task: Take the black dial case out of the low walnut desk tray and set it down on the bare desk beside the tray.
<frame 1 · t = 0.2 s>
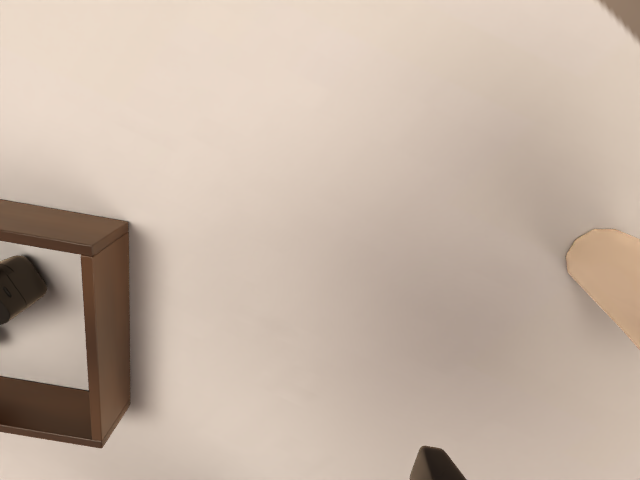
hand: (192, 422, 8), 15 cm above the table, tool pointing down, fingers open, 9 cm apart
milkshake: (586, 258, 22), on the table
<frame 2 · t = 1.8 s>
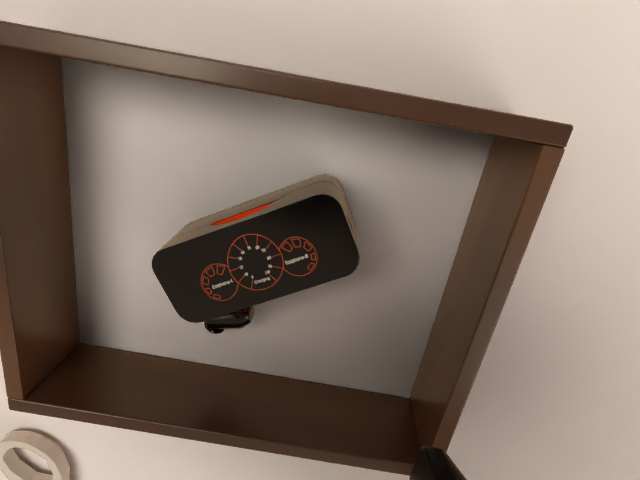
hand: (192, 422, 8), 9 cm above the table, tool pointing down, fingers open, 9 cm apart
black dial case: (261, 248, 16), resting in desk tray
desk tray: (261, 250, 16), on the table
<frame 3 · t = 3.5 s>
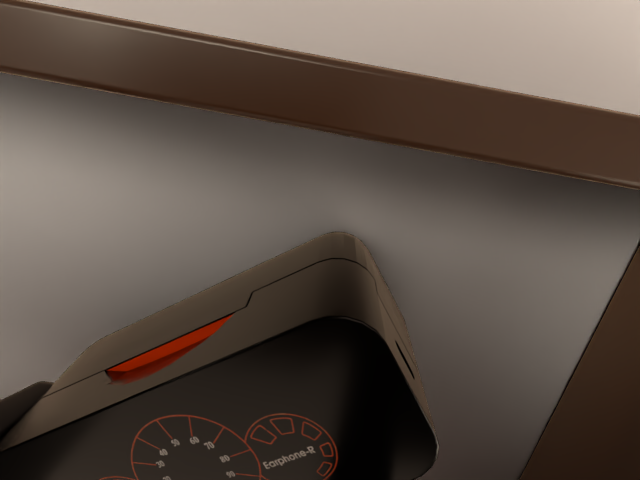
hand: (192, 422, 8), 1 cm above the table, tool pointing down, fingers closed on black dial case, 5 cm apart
black dial case: (236, 364, 9), resting in desk tray, touching gripper
desk tray: (214, 374, 9), on the table
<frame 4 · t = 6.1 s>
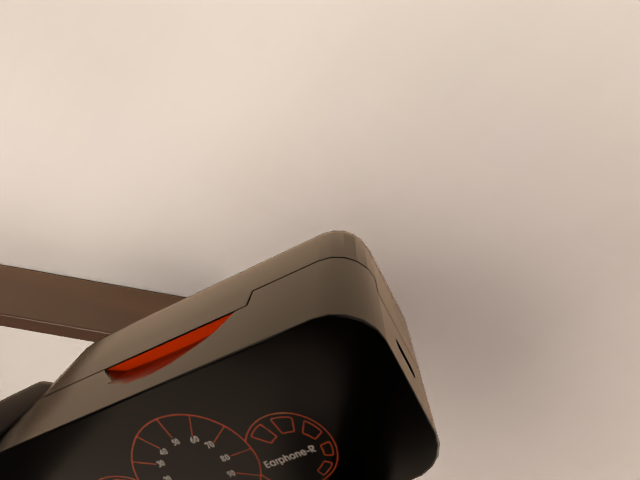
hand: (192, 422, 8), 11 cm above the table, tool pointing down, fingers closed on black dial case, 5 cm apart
black dial case: (236, 363, 9), point 9 cm above the table, touching gripper
desk tray: (91, 386, 22), on the table
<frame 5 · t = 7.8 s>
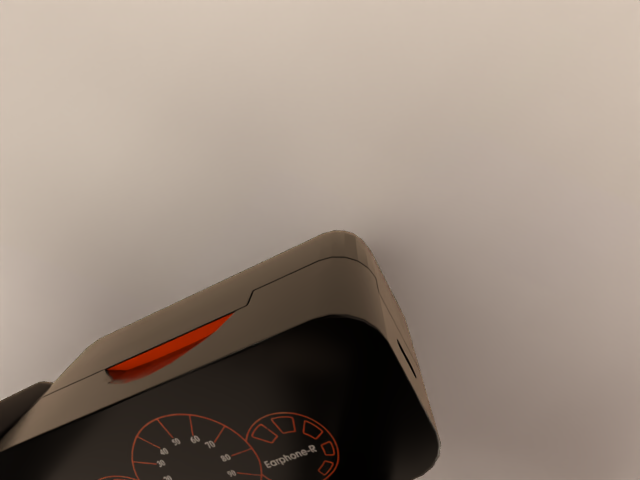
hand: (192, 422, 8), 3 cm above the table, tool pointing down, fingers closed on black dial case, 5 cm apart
black dial case: (236, 363, 9), point 2 cm above the table, touching gripper
when the fingers open (1 cm above the table, at t = 8.7 s): black dial case stays where it is, on the table.
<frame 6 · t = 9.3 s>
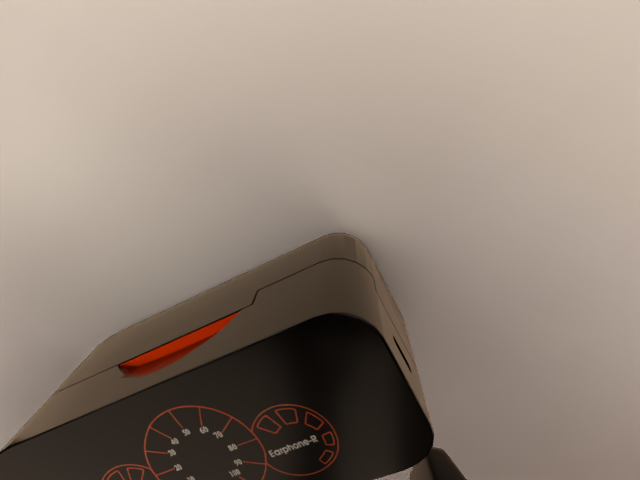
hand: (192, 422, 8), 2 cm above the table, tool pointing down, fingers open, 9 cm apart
black dial case: (241, 360, 9), on the table
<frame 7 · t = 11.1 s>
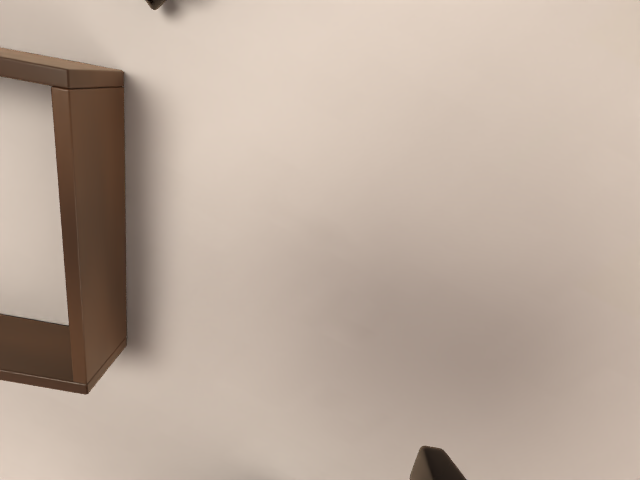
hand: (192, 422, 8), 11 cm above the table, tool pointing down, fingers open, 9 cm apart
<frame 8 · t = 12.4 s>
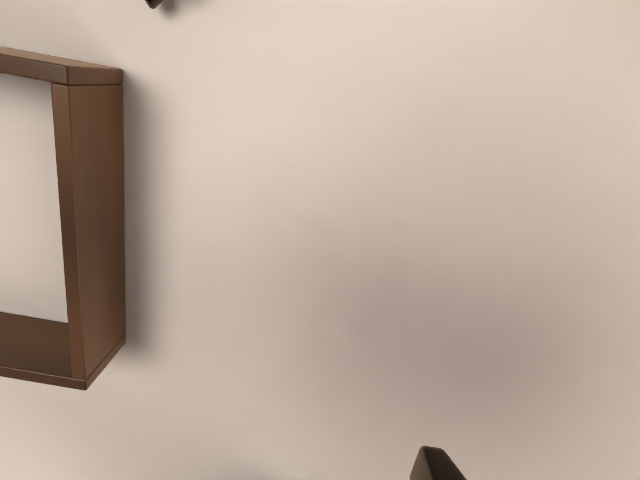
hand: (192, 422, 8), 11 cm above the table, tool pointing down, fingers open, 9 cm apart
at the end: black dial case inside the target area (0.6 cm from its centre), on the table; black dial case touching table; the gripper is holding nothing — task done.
